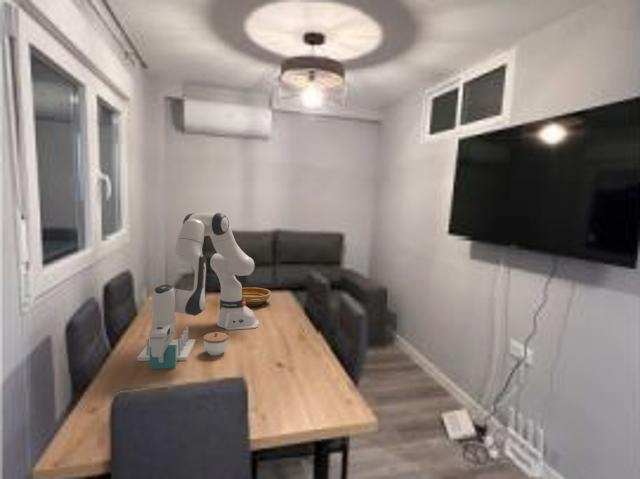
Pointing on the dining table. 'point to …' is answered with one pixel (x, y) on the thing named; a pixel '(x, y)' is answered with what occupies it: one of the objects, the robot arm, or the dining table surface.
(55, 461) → the dining table surface
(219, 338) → the lidded jar
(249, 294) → the brown woven oval bowl
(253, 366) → the dining table surface
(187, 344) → the dish rack
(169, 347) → the teal tile
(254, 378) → the dining table surface
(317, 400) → the dining table surface
